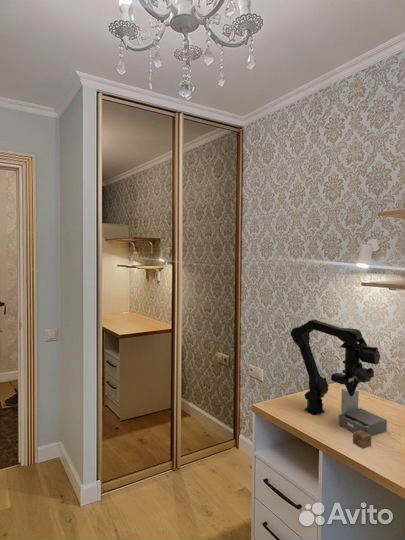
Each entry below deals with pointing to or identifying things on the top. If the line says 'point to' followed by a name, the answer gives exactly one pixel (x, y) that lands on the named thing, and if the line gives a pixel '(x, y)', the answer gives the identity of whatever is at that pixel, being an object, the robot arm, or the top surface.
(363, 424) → the disc
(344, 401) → the skincare box
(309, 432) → the top surface
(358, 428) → the tray
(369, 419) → the housing
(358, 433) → the walnut block
